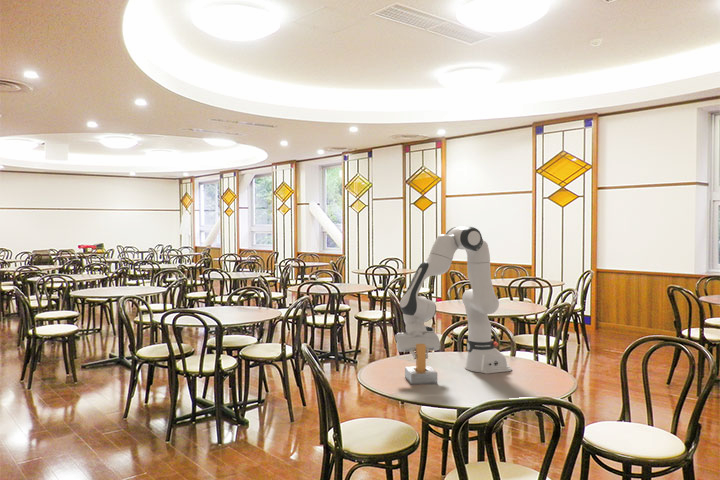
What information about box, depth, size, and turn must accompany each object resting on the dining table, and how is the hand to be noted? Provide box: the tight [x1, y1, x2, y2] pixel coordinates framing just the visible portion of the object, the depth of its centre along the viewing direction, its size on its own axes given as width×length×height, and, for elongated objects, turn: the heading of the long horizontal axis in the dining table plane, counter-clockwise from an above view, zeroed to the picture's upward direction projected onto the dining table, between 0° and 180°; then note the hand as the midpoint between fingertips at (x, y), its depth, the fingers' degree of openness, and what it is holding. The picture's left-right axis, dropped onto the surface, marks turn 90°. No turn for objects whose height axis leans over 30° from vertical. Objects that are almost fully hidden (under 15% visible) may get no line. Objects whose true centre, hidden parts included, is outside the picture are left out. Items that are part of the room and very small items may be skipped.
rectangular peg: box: [415, 344, 427, 372], centre depth 240 cm, size 4×4×14 cm
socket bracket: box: [404, 365, 438, 386], centre depth 240 cm, size 12×12×5 cm
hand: (421, 358), depth 240 cm, fingers closed on rectangular peg, 3 cm apart
